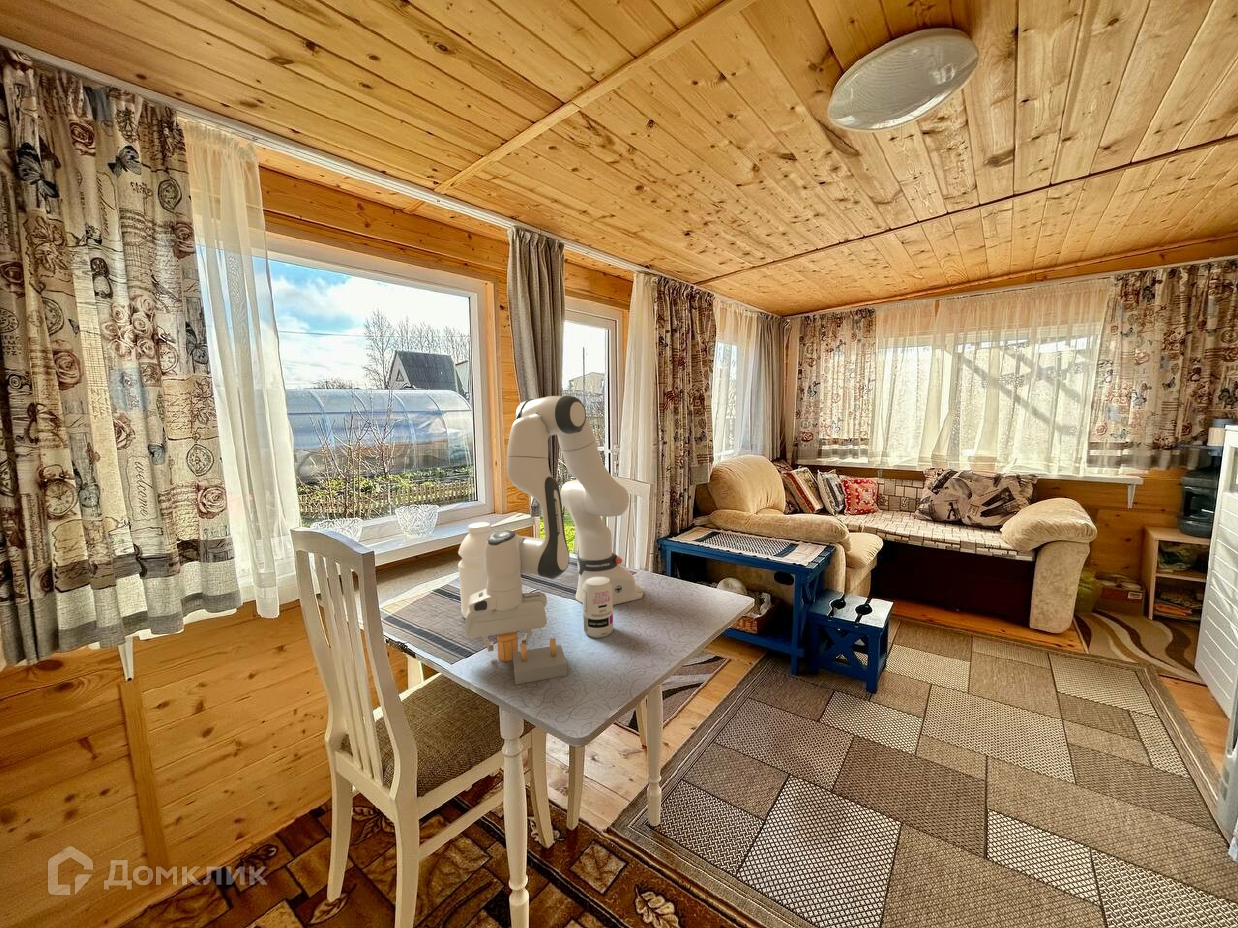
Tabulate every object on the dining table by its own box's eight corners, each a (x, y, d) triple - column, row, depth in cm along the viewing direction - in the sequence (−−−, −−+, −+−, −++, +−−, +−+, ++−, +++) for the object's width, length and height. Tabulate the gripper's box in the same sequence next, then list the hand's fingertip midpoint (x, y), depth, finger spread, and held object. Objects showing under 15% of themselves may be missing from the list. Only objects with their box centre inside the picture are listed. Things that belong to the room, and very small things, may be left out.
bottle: (495, 623, 137) (489, 531, 133) (452, 620, 139) (446, 530, 136) (514, 603, 150) (510, 519, 147) (476, 601, 153) (470, 518, 150)
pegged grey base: (561, 655, 118) (560, 629, 117) (567, 675, 109) (565, 647, 108) (513, 664, 115) (511, 637, 114) (515, 684, 106) (513, 656, 105)
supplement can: (597, 622, 136) (595, 573, 134) (619, 630, 131) (617, 579, 129) (578, 633, 130) (576, 581, 128) (600, 641, 124) (598, 588, 123)
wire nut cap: (517, 649, 122) (516, 627, 121) (518, 658, 117) (517, 636, 116) (498, 652, 120) (496, 630, 120) (498, 662, 116) (497, 639, 115)
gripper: (544, 586, 123) (547, 635, 124) (463, 596, 117) (467, 648, 119) (547, 595, 117) (550, 647, 118) (462, 606, 111) (466, 660, 113)
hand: (508, 647), depth 119 cm, fingers open, 7 cm apart
